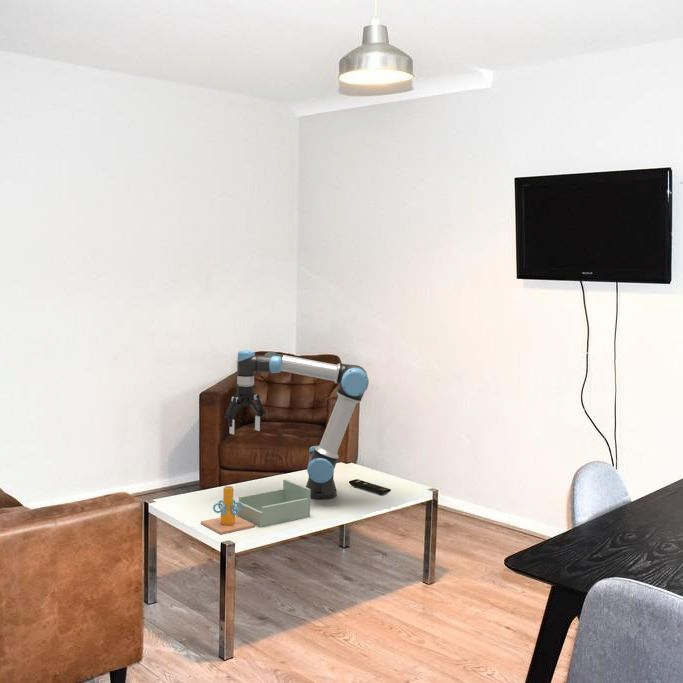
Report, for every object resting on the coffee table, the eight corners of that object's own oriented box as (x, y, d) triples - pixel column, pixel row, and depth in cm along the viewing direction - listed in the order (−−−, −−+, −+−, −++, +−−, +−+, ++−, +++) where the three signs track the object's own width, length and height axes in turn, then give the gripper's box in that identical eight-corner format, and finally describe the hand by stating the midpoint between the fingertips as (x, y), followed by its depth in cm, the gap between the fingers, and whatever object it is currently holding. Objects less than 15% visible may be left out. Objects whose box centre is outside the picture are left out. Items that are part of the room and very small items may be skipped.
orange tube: (214, 527, 328) (214, 491, 327) (211, 519, 338) (212, 484, 337) (244, 526, 331) (245, 490, 330) (240, 518, 341) (241, 483, 340)
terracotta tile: (234, 517, 346) (234, 514, 346) (254, 527, 334) (254, 524, 334) (200, 523, 336) (200, 521, 336) (220, 534, 324) (220, 532, 324)
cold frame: (284, 505, 364) (285, 479, 363) (309, 516, 350) (310, 489, 349) (236, 515, 348) (236, 488, 347) (260, 527, 334) (260, 498, 333)
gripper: (263, 382, 375) (262, 427, 377) (216, 386, 359) (216, 433, 361) (273, 384, 370) (272, 430, 372) (226, 388, 354) (225, 436, 356)
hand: (244, 432), depth 366 cm, fingers open, 13 cm apart
